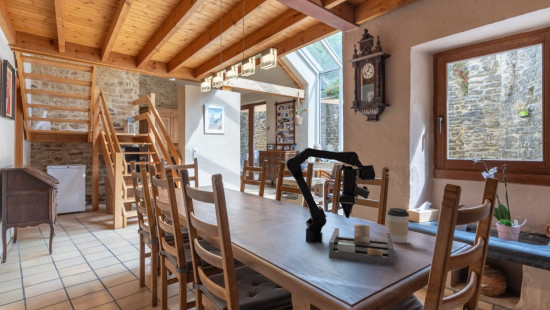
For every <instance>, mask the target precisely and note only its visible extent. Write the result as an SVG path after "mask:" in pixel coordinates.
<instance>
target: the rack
mask: <svg viewBox="0 0 550 310" xmlns="http://www.w3.org/2000/svg"><path fill="white" fill-rule="evenodd" d="M338 242H342V243H351V244H355V253H352V252H343V251H338ZM368 248H373V249H382V251H383V252H382V256H378V255H369V254H368ZM394 248H395V247H394V244H393V241H392V239H391V235H390V233H389V232H385V240H377V239H370V243H366V242H357V241H354V237H347V236H340V228H338V227H337V228H336V227H335V228H334V230H333V232H332V235H331V237H330V239H329V241H328V259H333V260H342V261H349V262H356V263H357V262H359V263H365V264H373V265H381V266H388V267H394V252H395V251H394Z"/></svg>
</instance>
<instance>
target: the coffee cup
mask: <svg viewBox="0 0 550 310" xmlns="http://www.w3.org/2000/svg"><path fill="white" fill-rule="evenodd" d="M386 214H387V225H388V226H387V228H388V229H387V230H388V233H390V235H391V239H392V243H398V244H400V243H401V244H404V243H407V239H408V238H407V236H408V232H409V231H408V230H409V222H410V221H409V218H410V213H409V212H408V210H407V209H405V208H398V207H397V208H396V207H394V208H393V207H392V208H391V207H390V208H389V210H388V211H387V213H386Z"/></svg>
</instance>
